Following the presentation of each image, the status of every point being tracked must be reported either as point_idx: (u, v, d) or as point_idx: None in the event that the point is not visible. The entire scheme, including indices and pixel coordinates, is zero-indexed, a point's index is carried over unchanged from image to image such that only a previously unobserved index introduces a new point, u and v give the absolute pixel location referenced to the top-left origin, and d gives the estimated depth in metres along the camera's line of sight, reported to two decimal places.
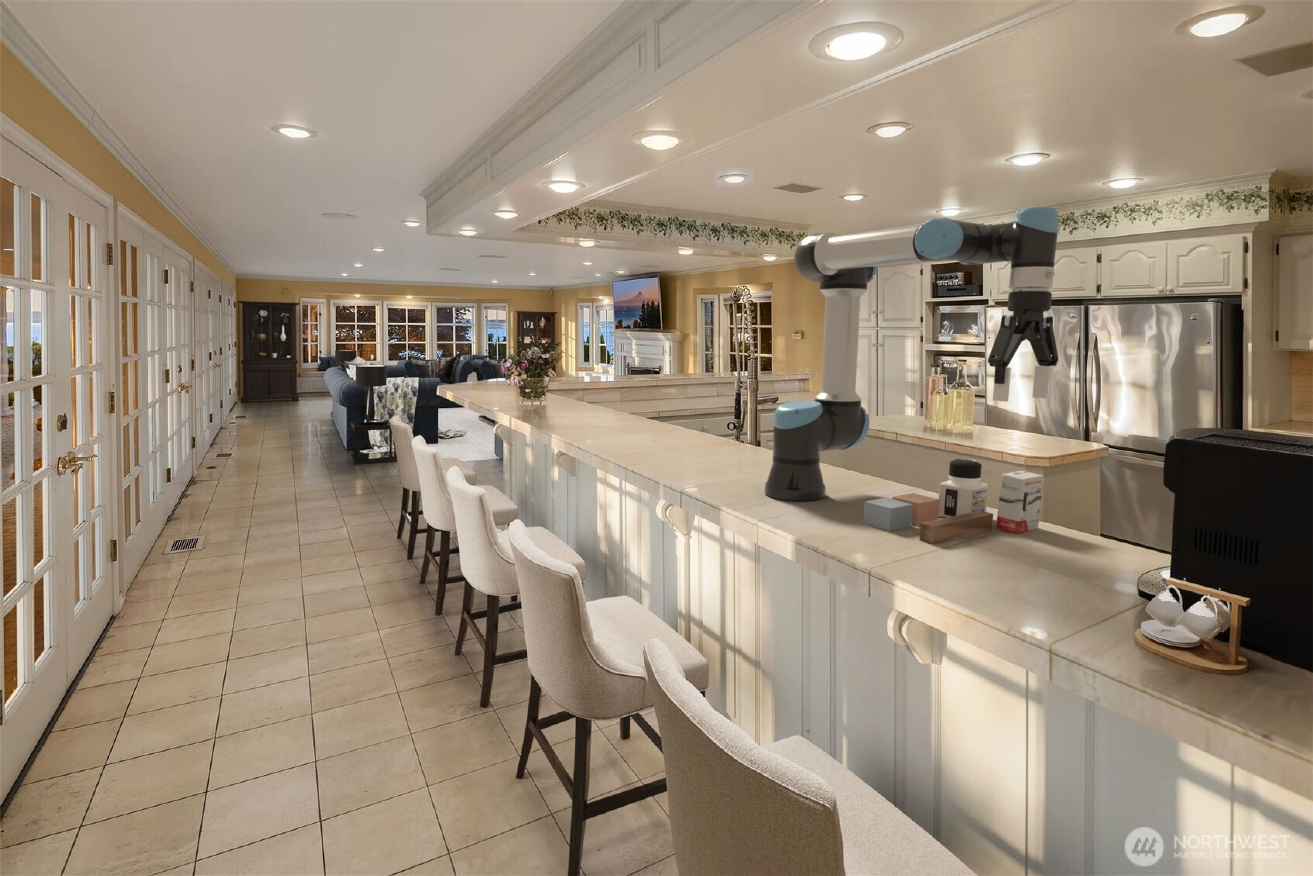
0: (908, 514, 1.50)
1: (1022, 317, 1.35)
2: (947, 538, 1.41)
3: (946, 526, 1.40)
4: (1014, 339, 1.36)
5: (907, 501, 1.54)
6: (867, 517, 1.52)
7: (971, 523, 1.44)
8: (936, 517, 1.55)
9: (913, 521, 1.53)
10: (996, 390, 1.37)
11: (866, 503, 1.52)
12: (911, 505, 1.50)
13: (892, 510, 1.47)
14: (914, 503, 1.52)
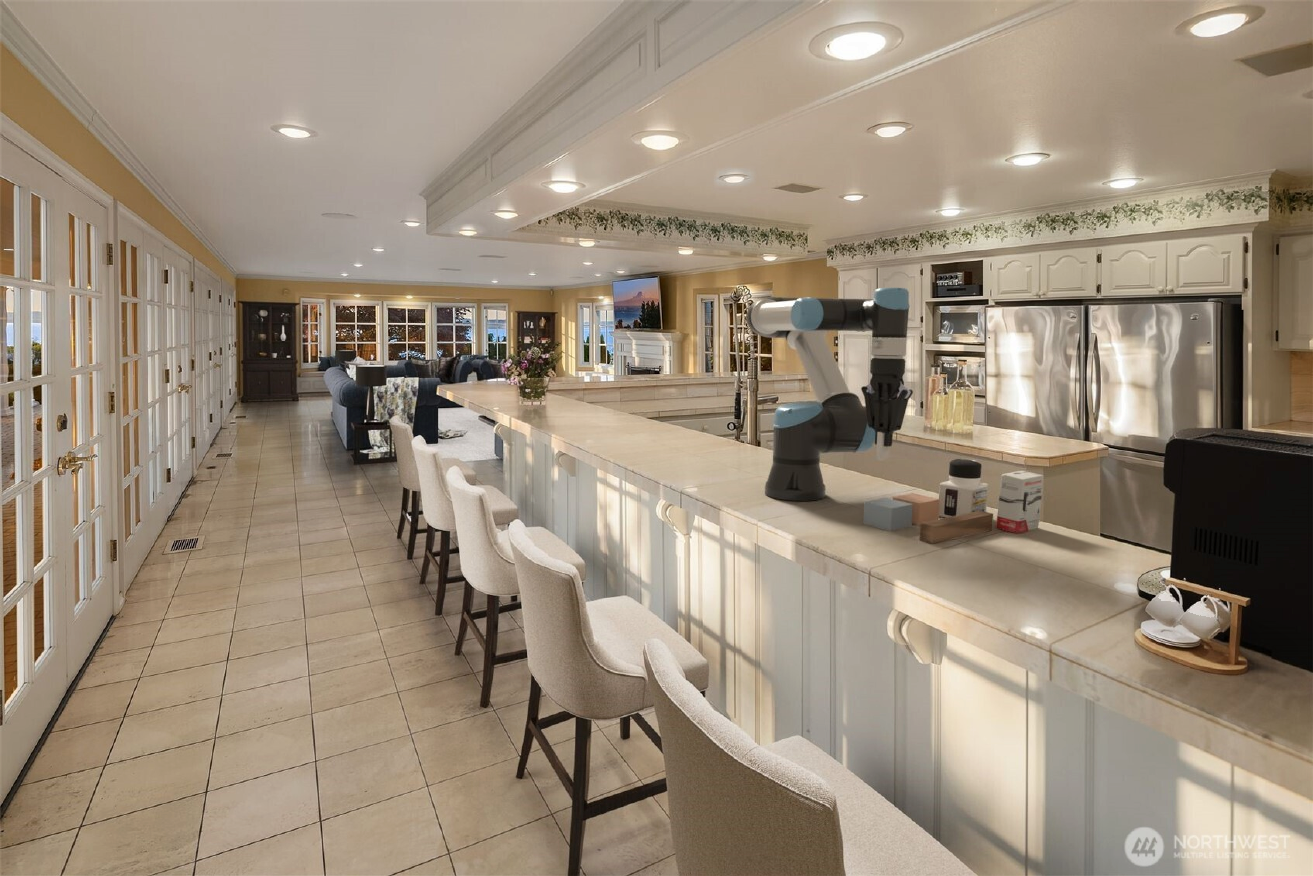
0: (908, 514, 1.50)
1: (870, 381, 1.63)
2: (947, 538, 1.41)
3: (946, 526, 1.40)
4: None
5: (907, 501, 1.54)
6: (867, 517, 1.52)
7: (971, 523, 1.44)
8: (936, 517, 1.55)
9: (914, 521, 1.53)
10: None
11: (866, 503, 1.52)
12: (911, 505, 1.50)
13: (893, 510, 1.47)
14: (915, 503, 1.52)
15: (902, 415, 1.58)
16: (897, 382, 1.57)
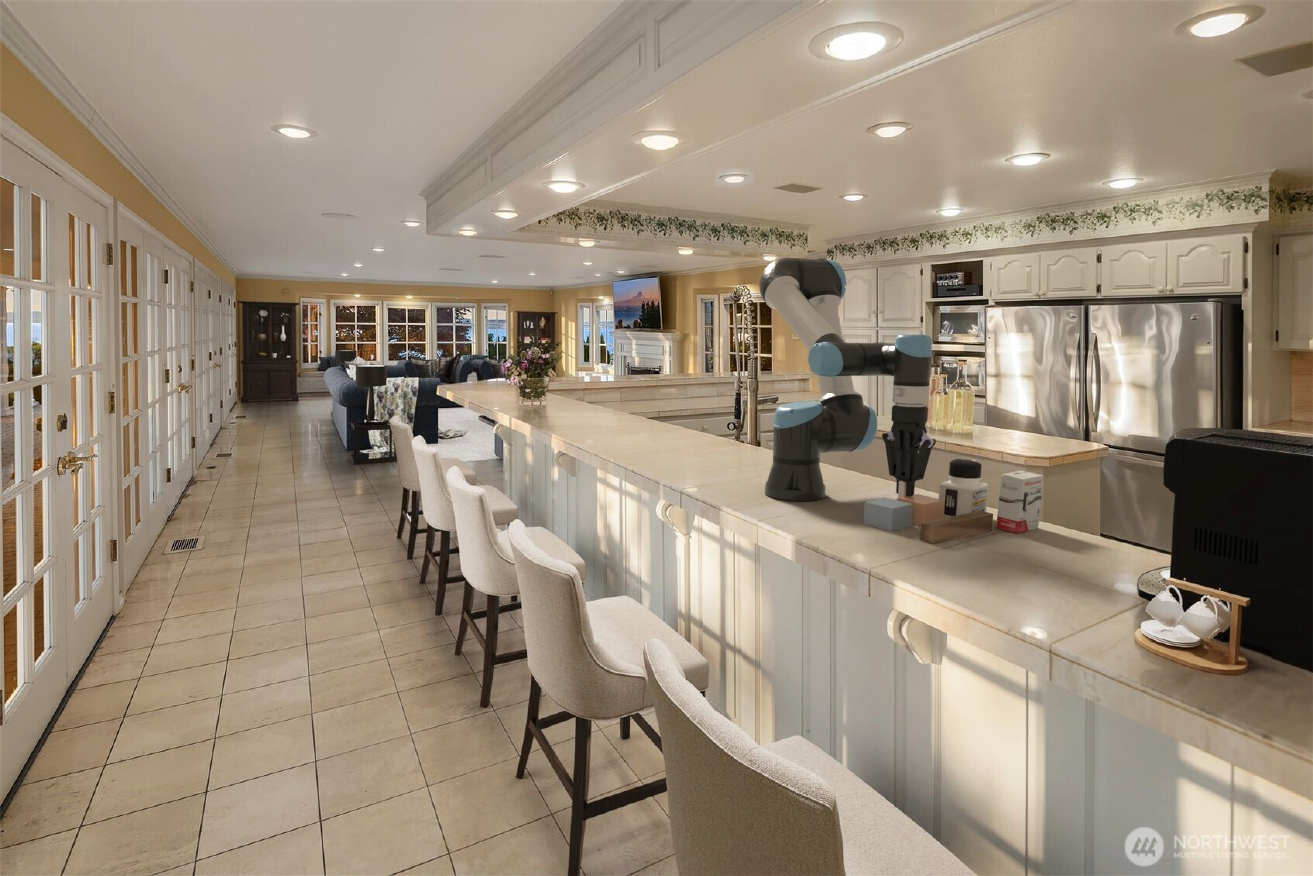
0: (908, 514, 1.50)
1: (891, 428, 1.59)
2: (947, 538, 1.41)
3: (946, 526, 1.40)
4: None
5: (912, 502, 1.52)
6: (867, 517, 1.52)
7: (971, 523, 1.44)
8: (941, 518, 1.54)
9: (918, 522, 1.51)
10: None
11: (866, 503, 1.51)
12: (911, 505, 1.50)
13: (894, 510, 1.47)
14: (919, 504, 1.51)
15: (925, 465, 1.54)
16: (920, 431, 1.52)
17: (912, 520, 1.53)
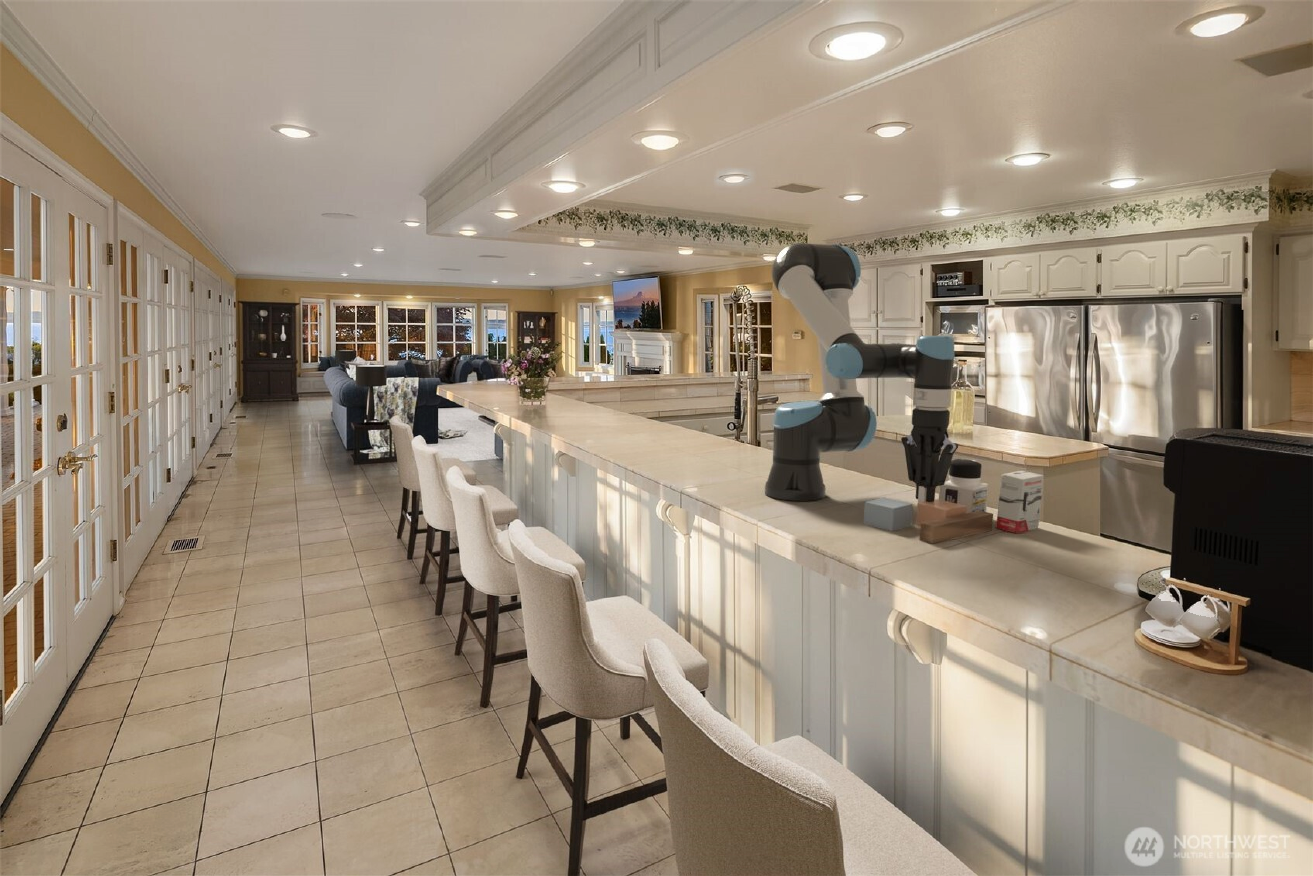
0: (908, 513, 1.50)
1: (911, 432, 1.54)
2: (947, 538, 1.41)
3: (946, 526, 1.40)
4: None
5: (933, 508, 1.48)
6: (867, 517, 1.51)
7: (971, 523, 1.44)
8: None
9: None
10: None
11: (866, 504, 1.51)
12: (911, 504, 1.50)
13: (894, 510, 1.47)
14: (940, 510, 1.46)
15: (946, 470, 1.49)
16: (941, 435, 1.48)
17: None
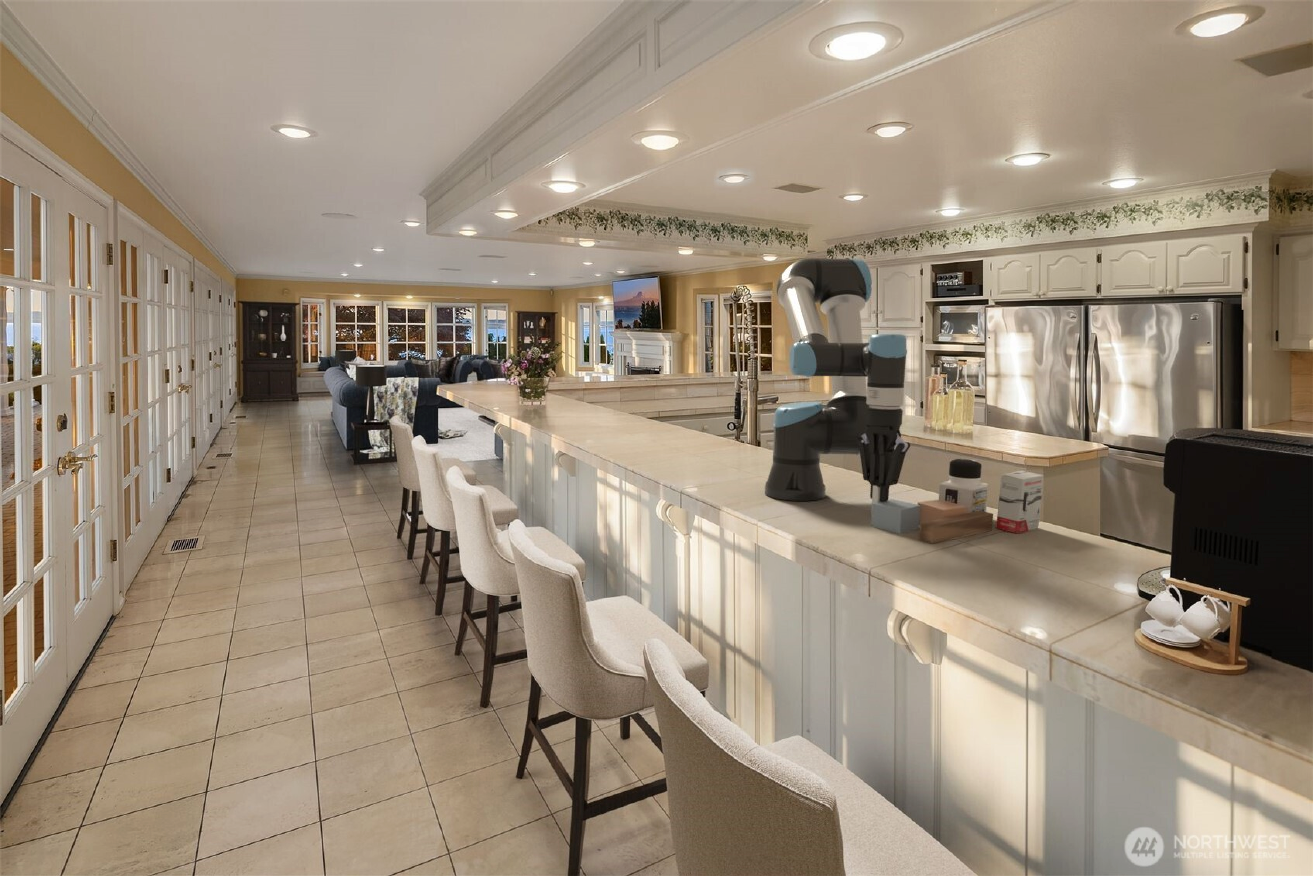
0: (916, 515, 1.48)
1: (865, 431, 1.54)
2: (947, 538, 1.41)
3: (946, 526, 1.40)
4: None
5: (932, 507, 1.48)
6: (875, 519, 1.50)
7: (971, 523, 1.44)
8: None
9: None
10: None
11: (874, 505, 1.50)
12: (919, 506, 1.49)
13: (902, 512, 1.45)
14: (939, 510, 1.47)
15: (899, 469, 1.48)
16: (894, 434, 1.47)
17: None
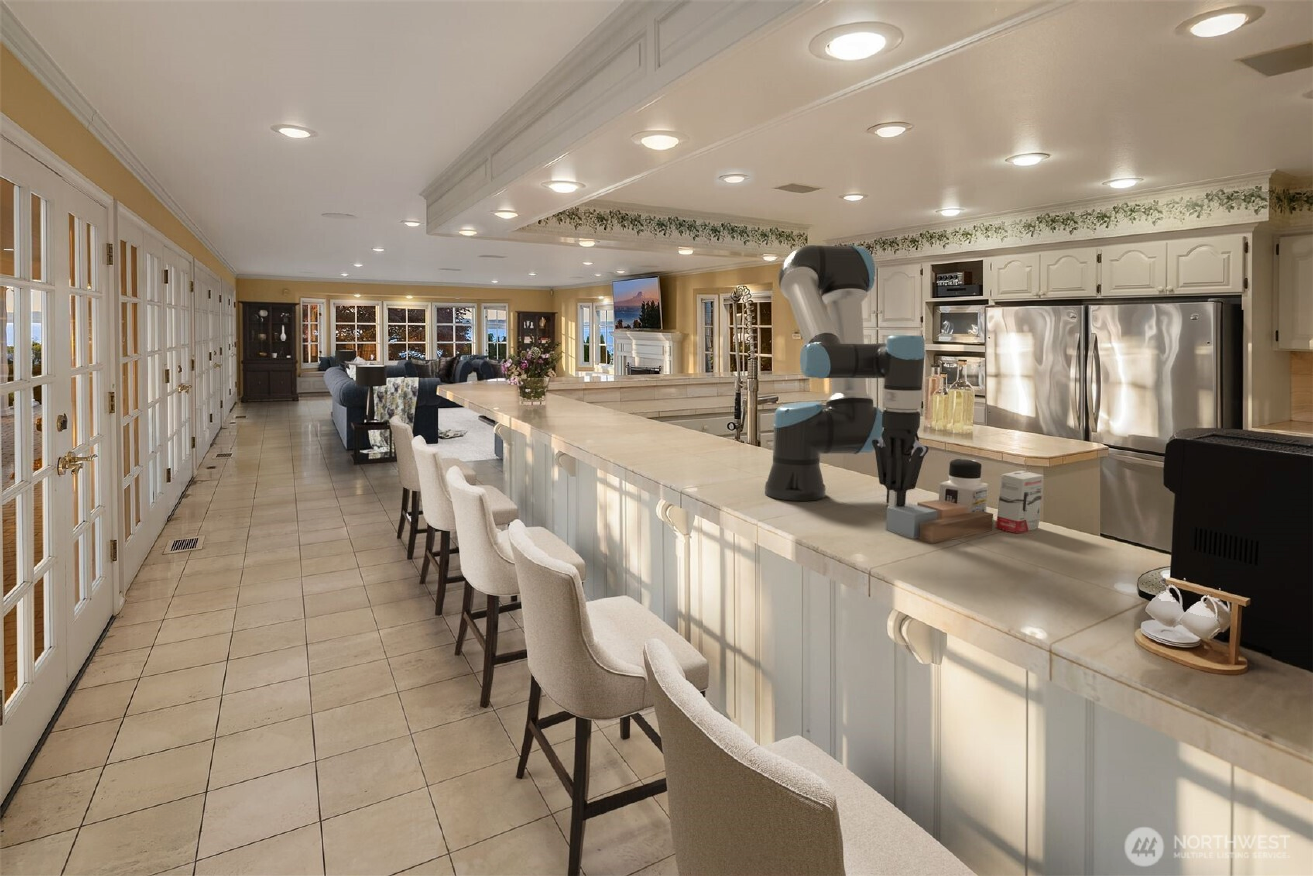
0: None
1: (882, 434, 1.50)
2: (947, 538, 1.41)
3: (946, 526, 1.40)
4: None
5: (931, 507, 1.48)
6: (889, 523, 1.47)
7: (971, 523, 1.44)
8: None
9: None
10: None
11: (889, 509, 1.47)
12: (936, 511, 1.45)
13: (916, 516, 1.41)
14: (938, 510, 1.47)
15: (917, 473, 1.45)
16: (911, 438, 1.44)
17: None
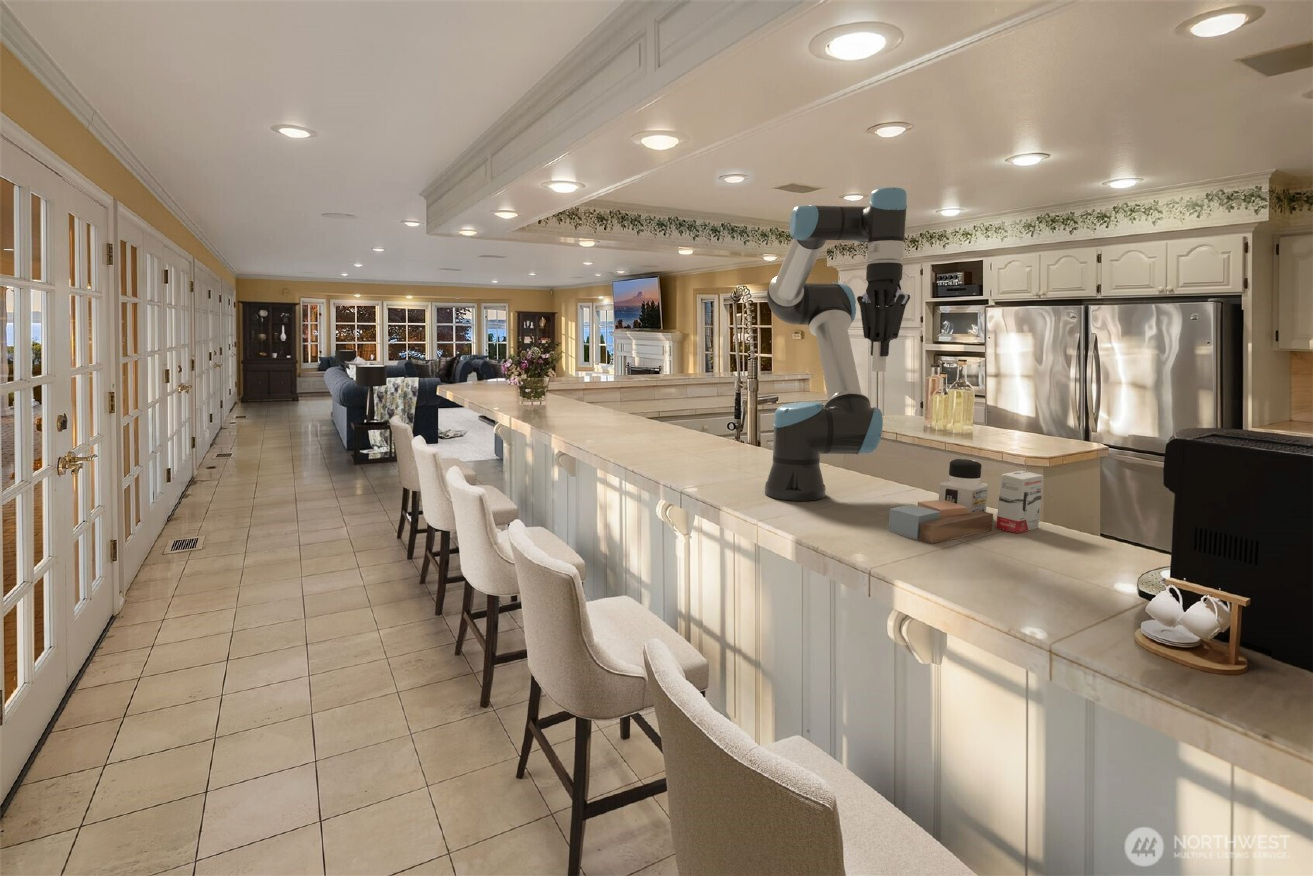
0: None
1: (866, 289, 1.57)
2: (947, 538, 1.41)
3: (946, 526, 1.40)
4: None
5: (930, 507, 1.49)
6: (892, 525, 1.46)
7: (971, 523, 1.44)
8: None
9: None
10: None
11: (892, 510, 1.46)
12: (939, 512, 1.44)
13: (920, 518, 1.41)
14: (936, 509, 1.47)
15: (899, 322, 1.52)
16: (894, 287, 1.51)
17: None
